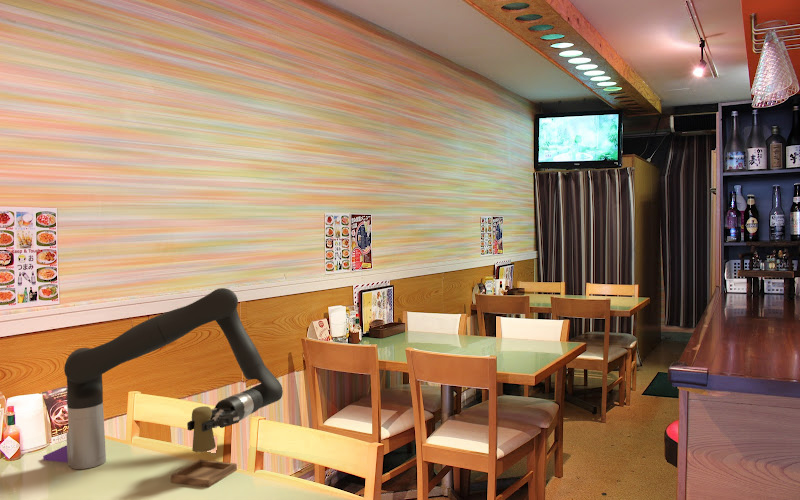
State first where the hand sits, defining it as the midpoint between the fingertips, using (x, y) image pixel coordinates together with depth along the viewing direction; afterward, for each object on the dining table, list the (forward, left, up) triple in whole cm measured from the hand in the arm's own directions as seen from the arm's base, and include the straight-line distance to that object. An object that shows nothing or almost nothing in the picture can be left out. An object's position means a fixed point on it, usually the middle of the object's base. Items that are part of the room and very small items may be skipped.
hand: (195, 427), depth 165 cm
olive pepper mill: (0, +3, -7) cm, 7 cm away
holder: (0, +3, -14) cm, 14 cm away
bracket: (-51, +4, -15) cm, 53 cm away
